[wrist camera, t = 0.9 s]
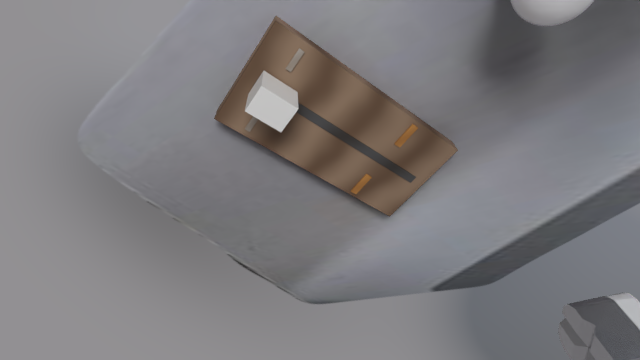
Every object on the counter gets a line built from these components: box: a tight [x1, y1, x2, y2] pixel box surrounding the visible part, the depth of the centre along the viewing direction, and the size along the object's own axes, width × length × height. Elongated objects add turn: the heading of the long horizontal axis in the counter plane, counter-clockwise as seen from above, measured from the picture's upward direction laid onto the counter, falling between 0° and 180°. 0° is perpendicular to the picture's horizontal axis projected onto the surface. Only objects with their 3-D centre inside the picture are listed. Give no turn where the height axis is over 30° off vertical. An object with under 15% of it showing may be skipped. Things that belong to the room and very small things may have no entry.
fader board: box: [214, 16, 458, 216], centre depth 44 cm, size 25×12×2 cm, turn 54°
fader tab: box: [245, 71, 299, 132], centre depth 38 cm, size 4×3×4 cm
